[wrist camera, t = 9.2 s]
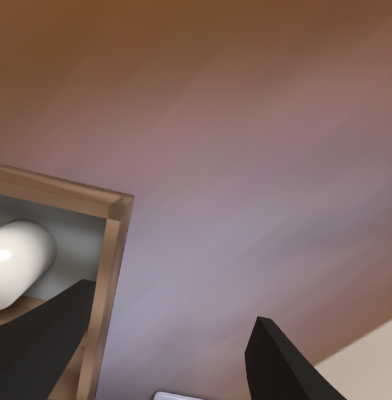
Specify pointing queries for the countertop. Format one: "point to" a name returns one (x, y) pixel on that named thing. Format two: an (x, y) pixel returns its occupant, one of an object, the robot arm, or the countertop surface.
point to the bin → (71, 258)
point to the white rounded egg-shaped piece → (23, 257)
